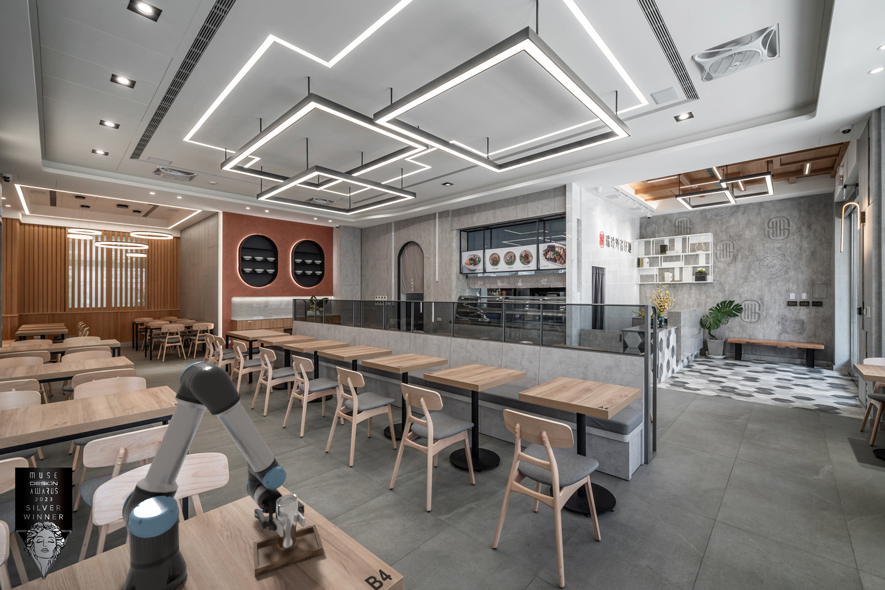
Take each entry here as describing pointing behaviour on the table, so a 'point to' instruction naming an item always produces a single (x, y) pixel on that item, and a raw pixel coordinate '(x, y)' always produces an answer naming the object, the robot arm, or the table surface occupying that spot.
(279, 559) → the walnut tray
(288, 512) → the silver metal cup
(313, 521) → the table surface
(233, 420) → the robot arm
